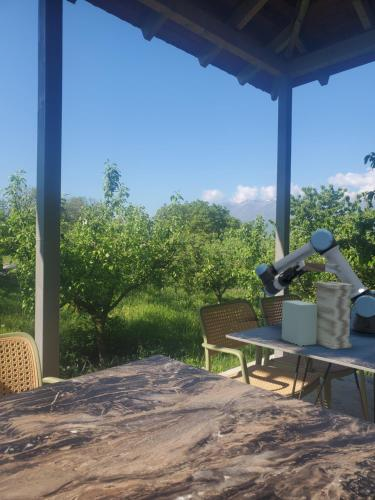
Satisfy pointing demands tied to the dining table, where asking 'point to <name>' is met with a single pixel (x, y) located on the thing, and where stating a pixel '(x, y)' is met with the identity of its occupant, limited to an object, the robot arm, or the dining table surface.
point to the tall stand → (333, 314)
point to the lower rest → (299, 322)
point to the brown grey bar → (321, 267)
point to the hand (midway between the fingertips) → (307, 263)
